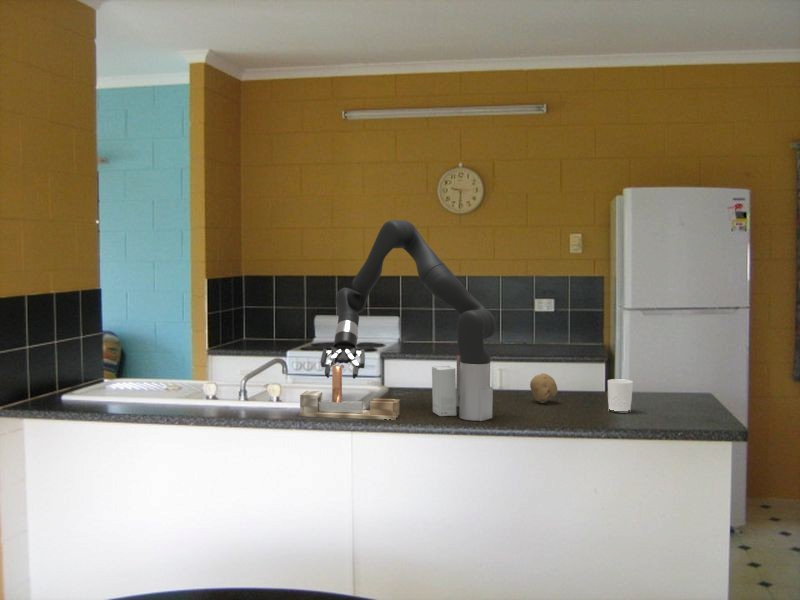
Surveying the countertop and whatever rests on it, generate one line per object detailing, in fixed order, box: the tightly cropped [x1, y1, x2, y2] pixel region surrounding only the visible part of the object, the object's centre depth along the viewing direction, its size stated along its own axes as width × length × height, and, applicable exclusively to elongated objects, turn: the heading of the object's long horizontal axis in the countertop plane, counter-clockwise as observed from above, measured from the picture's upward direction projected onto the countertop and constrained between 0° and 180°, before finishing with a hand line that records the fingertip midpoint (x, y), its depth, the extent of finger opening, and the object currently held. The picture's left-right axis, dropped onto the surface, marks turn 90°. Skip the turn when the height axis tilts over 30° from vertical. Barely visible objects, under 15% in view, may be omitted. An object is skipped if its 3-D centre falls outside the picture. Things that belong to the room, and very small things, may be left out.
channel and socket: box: [298, 390, 400, 421], centre depth 251 cm, size 30×8×7 cm, turn 82°
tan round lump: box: [529, 373, 558, 403], centre depth 275 cm, size 9×9×10 cm
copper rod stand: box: [318, 365, 364, 413], centre depth 251 cm, size 16×3×14 cm, turn 82°
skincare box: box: [431, 365, 457, 417], centre depth 255 cm, size 8×6×15 cm
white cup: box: [607, 378, 634, 411], centre depth 261 cm, size 8×8×10 cm
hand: (340, 376), depth 260 cm, fingers open, 8 cm apart
